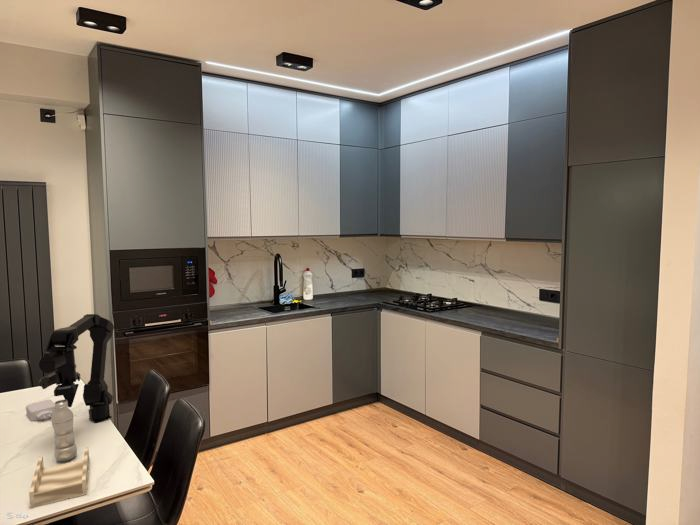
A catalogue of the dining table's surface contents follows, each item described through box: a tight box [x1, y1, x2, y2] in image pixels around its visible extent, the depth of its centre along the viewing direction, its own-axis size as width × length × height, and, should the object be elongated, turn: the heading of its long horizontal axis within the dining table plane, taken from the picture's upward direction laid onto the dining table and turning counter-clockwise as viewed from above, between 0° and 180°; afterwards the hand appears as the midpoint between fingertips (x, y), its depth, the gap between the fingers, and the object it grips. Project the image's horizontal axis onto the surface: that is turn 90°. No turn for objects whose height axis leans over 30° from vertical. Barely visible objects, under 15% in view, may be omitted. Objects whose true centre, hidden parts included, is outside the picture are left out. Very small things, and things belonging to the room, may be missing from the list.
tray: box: [28, 446, 90, 509], centre depth 153 cm, size 23×14×4 cm, turn 26°
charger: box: [25, 399, 56, 422], centre depth 204 cm, size 5×9×15 cm
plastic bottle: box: [50, 399, 78, 463], centre depth 167 cm, size 6×7×20 cm
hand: (69, 406), depth 180 cm, fingers closed
